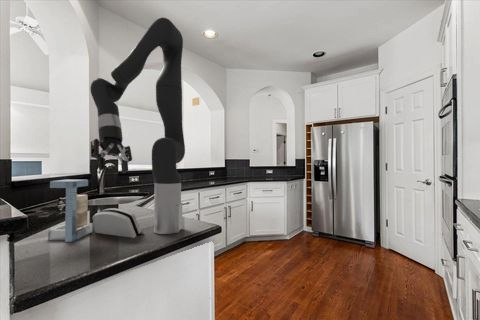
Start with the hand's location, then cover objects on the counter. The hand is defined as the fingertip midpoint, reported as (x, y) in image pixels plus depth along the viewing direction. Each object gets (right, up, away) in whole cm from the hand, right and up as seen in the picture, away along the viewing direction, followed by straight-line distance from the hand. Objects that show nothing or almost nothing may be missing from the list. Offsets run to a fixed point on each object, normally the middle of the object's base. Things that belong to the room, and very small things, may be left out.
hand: (114, 171), depth 84 cm
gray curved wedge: (+2, -22, -2) cm, 22 cm away
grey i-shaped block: (-12, -21, -5) cm, 25 cm away
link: (-16, -21, +6) cm, 27 cm away
